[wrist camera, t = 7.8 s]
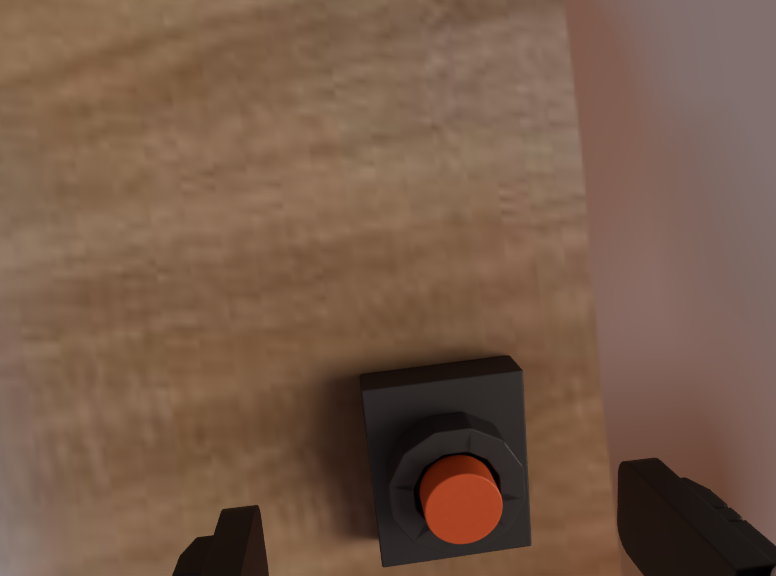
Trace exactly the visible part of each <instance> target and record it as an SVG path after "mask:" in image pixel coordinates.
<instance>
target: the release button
mask: <svg viewBox="0 0 776 576" xmlns="http://www.w3.org/2000/svg"><path fill="white" fill-rule="evenodd" d="M419 492H420V499H421V503H422V508H423V512H424V516H425V520H426V523H427V525H428V527H429V528H430V530H431V531H432V532H433V533H434V534H435V535H436V536H437V537H438V538H440V539H442V540H444V541H446V542H449V543H454V544H467V543H472V542H475V541H478V540H480V539H482V538H483V537H485V536H486V535H488V534H489V533H490V532H491V531H492V530H493V529H494V528H495V527H496V525H497V523H498V522H499V520H500V517H501V514H502V508H503V503H502V497H501V494H500V492H499V490H498V488H497V486H496V483H495V481H494V479H493V477H492V475H491V473H490V471H489V470H488V468H487V467H486V466H485V465H484V464H483V463H482V462H481V461H479V460H478V459H475V458H473V457H470V456H466V455H452V456H447V457H444V458H442V459H440V460H438V461H437V462H435V463H434V464H433V465H431V466H430V467H429V468H428V470H427V471H426V472H425V474H424V476H423V478H422V480H421V483H420V489H419Z"/></svg>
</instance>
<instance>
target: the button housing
mask: <svg viewBox="0 0 776 576" xmlns="http://www.w3.org/2000/svg"><path fill="white" fill-rule="evenodd" d="M360 385H361V395H362V403H363V412H364V420H365V428H366V436H367V445H368V453H369V461H370V470H371V478H372V486H373V494H374V503H375V511H376V519H377V527H378V536H379V544H380V552H381V560H382V566H383V567H390V566H397V565H404V564H411V563H417V562H424V561H431V560H438V559H444V558H451V557H458V556H465V555H471V554H478V553H485V552H492V551H498V550H505V549H512V548H519V547H525V546H531V525H530V505H529V485H528V465H527V445H526V425H525V405H524V385H523V371H522V369H521V368H520V367H519V366H518V365H517V363H516V362H515V361H514V360H513V359H512V358H511V357H510V356H503V357H495V358H488V359H480V360H472V361H464V362H456V363H448V364H440V365H433V366H425V367H417V368H409V369H401V370H393V371H385V372H378V373H370V374H362V375H360ZM452 455H466V456H470V457H473V458H475V459H478V460H479V461H481V462H482V463H483V464H484V465H485V466H486V467H487V468H488V470H489V471H490V473H491V475H492V477H493V479H494V481H495V483H496V486H497V488H498V490H499V492H500V494H501V497H502V503H503V508H502V514H501V517H500V520H499V522H498V523H497V525H496V527H495V528H494V529H493V530H492V531H491V532H490V533H489V534H488V535H486V536H485V537H483V538H482V539H480V540H478V541H475V542H472V543H467V544H454V543H449V542H446V541H444V540H442V539H440V538H438V537H437V536H436V535H435V534H434V533H433V532H432V531H431V530H430V528H429V527H428V525H427V523H426V520H425V516H424V512H423V508H422V503H421V499H420V492H419V489H420V483H421V480H422V478H423V476H424V474H425V472H426V471H427V470H428V468H429V467H430V466H431V465H433V464H434V463H435V462H437V461H438V460H440V459H442V458H444V457H447V456H452Z"/></svg>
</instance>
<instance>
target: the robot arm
mask: <svg viewBox="0 0 776 576" xmlns="http://www.w3.org/2000/svg"><path fill="white" fill-rule="evenodd" d="M617 509H618V511H617V526H618V532H619V536H620V539H621V542H622V545H623V547H624V549H625V551H626V553H627V554H628V555H629V557H630V558H631V559H632V561H633V562H634V563H635V565H636V566H637V567H638V569H639V570H640V571H641V573H642V574H643V575H644V576H776V546H775V545H774V544H773V543H772V542H770V541H769V540H768V539H767V538H766V537H765V536H763V535H762V534H761V533H760V532H759V531H757V530H756V529H755V528H754V527H753V526H752V525H751V524H749V523H748V522H747V521H746V520H745V521H743V520H742V517H741V516H740V515H739V514H738V513H737V512H735V511H734V510H733V509H732V508H728V506H727V504H726V503H725V502H724V501H723V500H721V499H720V498H719V497H718V496H717V495H716V494H714V493H713V492H712V491H711V490H710V489H708V488H706V487H704V486H702V485H700V484H698V483H696V482H694V481H692V480H690V479H688V478H680V477H678V476H677V475H676V474H675V473H674V472H673V471H672V470H670V468H668V467H667V466H666V465H665V464H664V463H663V462H662V461H661V460H659V459H657V458H648V459H639V460H631V461H623V462H621V464H620V465H619V470H618V508H617ZM172 576H269V573H268V564H267V556H266V549H265V542H264V535H263V527H262V520H261V513H260V509H259V506H258V505H253V506H245V507H236V508H228V509H223V510H222V511H221V514H220V517H219V520H218V523H217V526H216V529H215V532H214V535H212V536H204V537H197V538H196V539H195V540H194V541H193V542H192V543H191V544H190V545H189V546H188V547H187V549H186V550H185V551H184V552H183V553H182V554H181V555H180V557H179V559H178V562H177V565H176V567H175V570H174V572H173V575H172Z"/></svg>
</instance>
